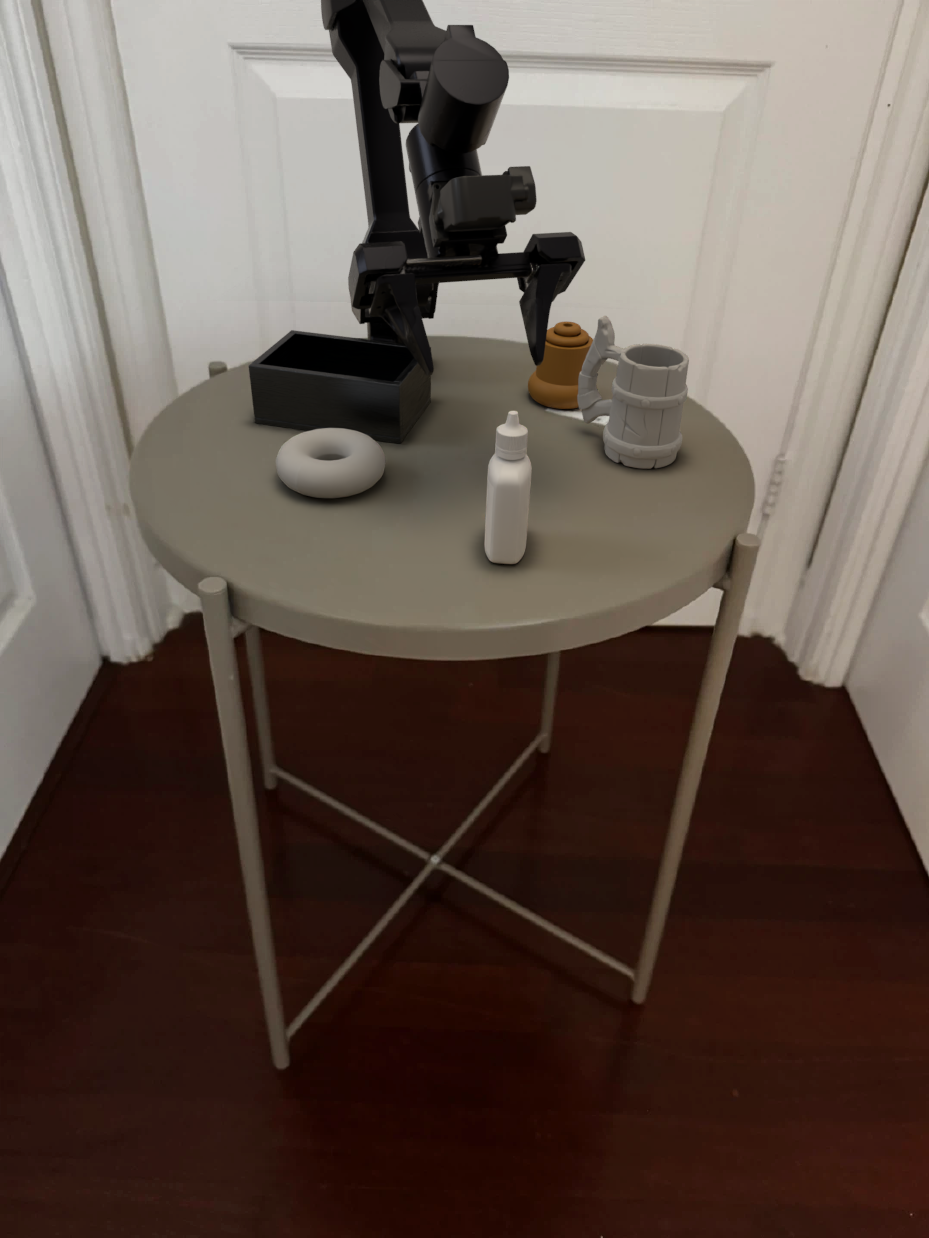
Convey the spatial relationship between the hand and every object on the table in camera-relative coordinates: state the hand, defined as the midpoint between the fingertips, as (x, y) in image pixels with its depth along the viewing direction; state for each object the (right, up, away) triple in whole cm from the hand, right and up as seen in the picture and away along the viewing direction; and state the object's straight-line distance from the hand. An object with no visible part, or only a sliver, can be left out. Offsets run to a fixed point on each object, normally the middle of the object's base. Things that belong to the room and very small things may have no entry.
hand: (485, 368), depth 75 cm
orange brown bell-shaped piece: (+9, +4, +28) cm, 29 cm away
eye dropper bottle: (+2, -14, +2) cm, 15 cm away
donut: (-14, -7, +11) cm, 19 cm away
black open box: (-14, +2, +23) cm, 27 cm away
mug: (+14, -3, +18) cm, 23 cm away
